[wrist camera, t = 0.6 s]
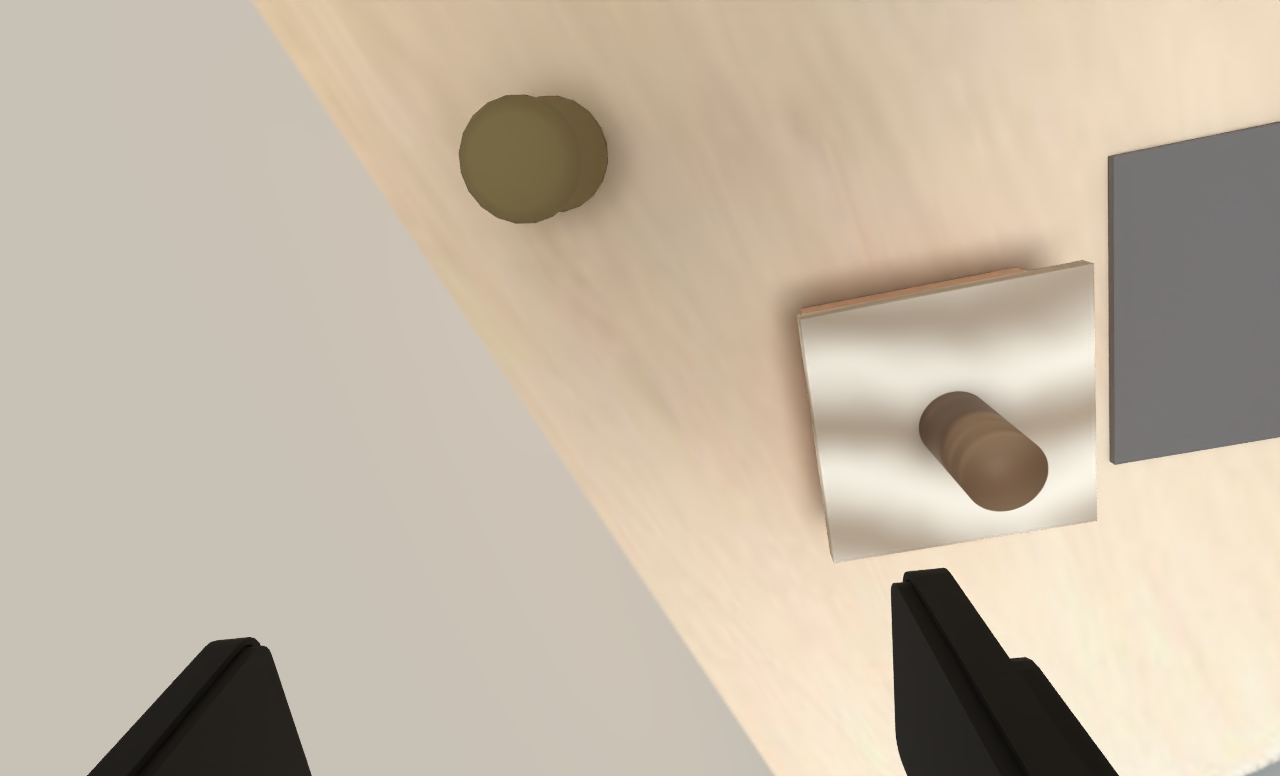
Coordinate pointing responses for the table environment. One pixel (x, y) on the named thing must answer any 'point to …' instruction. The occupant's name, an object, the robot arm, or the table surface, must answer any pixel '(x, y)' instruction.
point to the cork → (532, 157)
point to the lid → (955, 411)
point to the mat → (1194, 294)
